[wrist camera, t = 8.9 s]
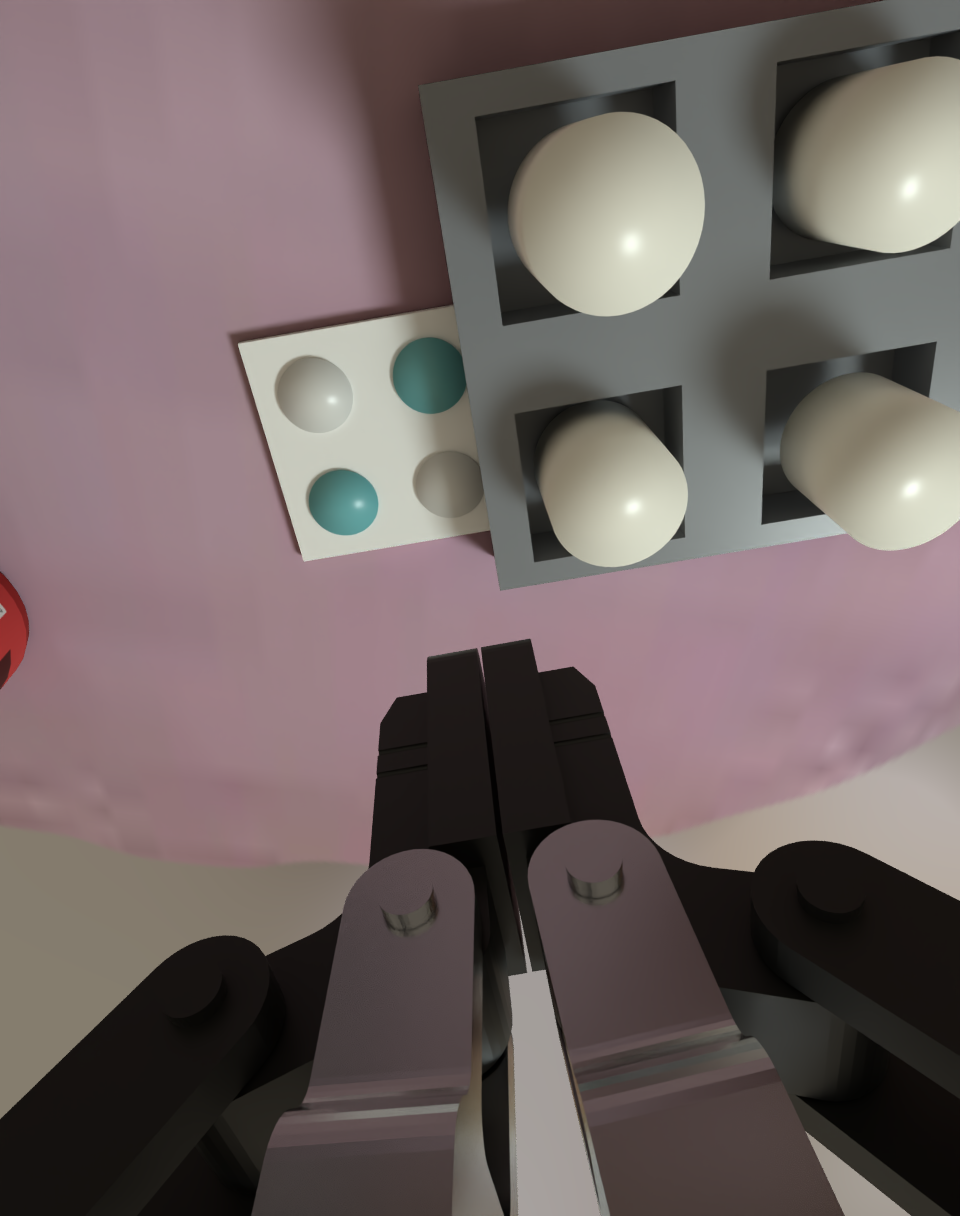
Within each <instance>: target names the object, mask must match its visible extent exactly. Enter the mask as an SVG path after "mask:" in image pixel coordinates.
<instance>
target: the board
mask: <svg viewBox="0 0 960 1216" xmlns="http://www.w3.org/2000/svg"><path fill="white" fill-rule="evenodd" d="M935 56H941V57H951V58H955V59H959V60H960V0H884V1H879V2H873V3H868V4H862V5H857V6H851V7H846V8H840V9H835V10H829V11H824V12H818V13H813V14H807V15H802V16H796V17H791V18H786V19H780V20H775V21H769V22H764V23H758V24H753V25H747V26H742V27H736V28H731V29H725V30H720V31H714V32H709V33H703V34H698V35H692V36H687V37H681V38H676V39H670V40H665V41H660V42H654V43H649V44H643V45H638V46H632V47H627V48H621V49H616V50H610V51H605V52H599V53H594V54H588V55H583V56H577V57H572V58H566V59H561V60H555V61H550V62H544V63H539V64H534V65H528V66H523V67H517V68H512V69H506V70H501V71H495V72H490V73H484V74H479V75H473V76H468V77H462V78H457V79H451V80H446V81H440V82H435V83H429V84H424V85H418V87H419V96H420V102H421V108H422V114H423V120H424V127H425V133H426V139H427V145H428V151H429V157H430V164H431V170H432V176H433V182H434V188H435V194H436V201H437V207H438V213H439V219H440V225H441V231H442V238H443V244H444V250H445V256H446V262H447V268H448V274H449V281H450V287H451V293H452V299H453V305H454V311H455V317H456V323H457V330H458V336H459V342H460V348H461V354H462V360H463V366H464V373H465V379H466V385H467V391H468V397H469V403H470V410H471V416H472V422H473V428H474V434H475V440H476V447H477V453H478V459H479V465H480V471H481V477H482V483H483V490H484V496H485V502H486V508H487V514H488V521H489V527H490V533H491V539H492V545H493V552H494V558H495V564H496V569H497V575H498V581H499V587H500V591H501V590H507V589H513V588H519V587H525V586H531V585H537V584H544V583H550V582H556V581H562V580H568V579H574V578H580V577H586V576H592V575H598V574H604V573H610V572H616V571H622V570H628V569H634V568H640V567H646V566H652V565H659V564H665V563H671V562H677V561H683V560H689V559H695V558H701V557H707V556H713V555H719V554H725V553H731V552H737V551H743V550H749V549H755V548H761V547H767V546H773V545H780V544H786V543H792V542H798V541H804V540H810V539H816V538H822V537H828V536H834V535H840V534H846V533H847V532H846V531H845V530H843V529H842V528H841V527H840V526H839V525H838V524H836V523H835V522H834V521H833V520H832V519H831V518H830V517H828V516H827V515H826V514H825V513H824V512H823V511H822V510H820V509H819V508H818V507H817V506H816V505H815V504H814V503H812V502H811V501H810V500H809V499H808V498H807V497H806V496H804V495H803V494H802V493H801V492H800V491H799V490H797V489H796V488H795V487H794V486H793V485H792V484H791V483H790V481H789V480H788V479H787V477H786V475H785V473H784V471H783V468H782V465H781V460H780V443H781V438H782V434H783V431H784V428H785V425H786V423H787V421H788V419H789V417H790V415H791V414H792V412H793V411H794V409H795V408H796V407H797V405H798V404H799V403H800V402H801V401H802V400H803V399H804V398H805V397H806V396H807V395H808V394H809V393H810V392H811V391H813V390H814V389H815V388H816V387H818V386H820V385H821V384H823V383H824V382H826V381H828V380H830V379H832V378H835V377H838V376H841V375H845V374H849V373H857V372H865V373H872V374H877V375H880V376H883V377H885V378H887V379H889V380H891V381H893V382H896V383H898V384H900V385H902V386H904V387H906V388H909V389H911V390H913V391H915V392H917V393H920V394H922V395H924V396H926V397H928V398H930V399H933V400H935V401H937V402H939V403H941V404H943V405H946V406H948V407H950V408H952V409H954V410H956V411H959V412H960V221H959V222H958V223H957V224H956V225H955V226H953V227H952V228H951V229H950V230H949V231H947V232H946V233H945V234H943V235H942V236H940V237H939V238H937V239H936V240H934V241H932V242H930V243H928V244H926V245H924V246H922V247H919V248H917V249H914V250H910V251H906V252H899V253H882V252H877V251H871V250H866V249H861V248H856V247H850V246H845V245H840V244H834V243H829V242H824V241H818V240H813V239H808V238H805V237H803V236H800V235H798V234H796V233H795V232H793V231H791V230H790V229H789V228H788V227H787V226H785V224H784V223H783V222H782V221H781V220H780V218H779V217H778V215H777V214H776V212H775V210H774V208H773V205H772V194H773V165H774V139H775V137H776V135H777V132H778V130H779V128H780V126H781V125H782V123H783V121H784V119H785V118H786V116H787V115H788V114H789V112H790V111H791V110H792V108H793V107H794V106H795V105H796V104H797V103H798V101H800V100H801V99H802V98H803V97H804V96H805V95H806V94H807V93H808V92H810V91H811V90H812V89H814V88H815V87H817V86H818V85H820V84H822V83H824V82H826V81H828V80H830V79H833V78H836V77H840V76H843V75H848V74H852V73H857V72H861V71H866V70H871V69H875V68H880V67H884V66H889V65H893V64H898V63H903V62H907V61H912V60H916V59H921V58H925V57H935ZM613 112H634V113H638V114H643V115H646V116H649V117H651V118H654V119H656V120H658V121H660V122H662V123H663V124H665V125H667V126H668V127H669V128H670V129H672V130H673V131H674V132H675V133H676V134H677V135H678V136H679V137H680V138H681V139H682V140H683V141H684V142H685V144H686V145H687V147H688V148H689V150H690V151H691V153H692V155H693V157H694V159H695V161H696V163H697V165H698V168H699V171H700V174H701V177H702V183H703V188H704V198H705V212H704V222H703V228H702V232H701V236H700V239H699V243H698V246H697V248H696V251H695V253H694V255H693V257H692V259H691V261H690V263H689V265H688V267H687V268H686V270H685V271H684V272H683V274H682V275H681V277H680V278H679V279H678V280H677V282H676V283H675V284H674V285H673V286H672V287H671V288H670V289H669V290H668V291H667V292H666V293H665V294H664V295H662V296H661V297H660V298H658V299H657V300H655V301H654V302H653V303H651V304H649V305H647V306H645V307H643V308H641V309H639V310H636V311H634V312H631V313H627V314H623V315H618V316H595V315H589V314H585V313H582V312H579V311H576V310H574V309H572V308H570V307H568V306H566V305H565V304H563V303H562V302H560V301H559V300H558V299H556V298H555V297H554V296H553V295H552V294H551V293H550V292H549V291H548V290H547V289H546V288H545V287H544V286H543V285H542V284H541V283H540V282H539V281H538V280H537V279H536V278H535V277H534V276H533V275H532V274H531V273H530V272H529V270H528V269H527V268H526V267H525V266H524V264H523V263H522V261H521V260H520V258H519V256H518V255H517V253H516V250H515V248H514V246H513V243H512V240H511V236H510V232H509V226H508V200H509V194H510V189H511V186H512V183H513V179H514V177H515V175H516V172H517V170H518V168H519V166H520V164H521V163H522V161H523V159H524V158H525V157H526V155H527V154H528V153H529V151H530V150H531V149H532V148H533V147H534V146H535V145H536V144H537V143H538V142H539V141H540V140H541V139H542V138H544V137H545V136H546V135H547V134H549V133H551V132H552V131H554V130H556V129H558V128H560V127H563V126H565V125H568V124H571V123H575V122H578V121H581V120H585V119H588V118H591V117H595V116H598V115H602V114H606V113H613ZM594 400H606V401H612V402H616V403H619V404H622V405H624V406H626V407H628V408H629V409H631V410H632V411H634V412H635V413H636V414H637V415H638V416H639V417H640V418H641V419H642V420H643V421H644V422H645V424H646V425H647V426H648V427H649V428H650V430H651V431H652V432H653V433H654V434H655V435H656V437H657V438H658V439H659V440H660V441H661V442H662V444H663V445H664V446H665V447H666V448H667V449H668V451H669V452H670V453H671V454H672V455H673V457H674V458H675V459H676V460H677V461H678V463H679V465H680V466H681V468H682V470H683V472H684V475H685V478H686V482H687V488H688V502H687V508H686V512H685V515H684V518H683V520H682V522H681V524H680V527H679V528H678V530H677V531H676V533H675V534H674V536H673V537H672V538H671V539H670V541H669V542H668V543H667V544H666V545H665V546H664V547H662V548H661V549H660V550H659V551H657V552H656V553H655V554H653V555H651V556H650V557H648V558H646V559H644V560H642V561H639V562H637V563H634V564H630V565H626V566H620V567H602V566H596V565H592V564H589V563H586V562H584V561H582V560H580V559H578V558H576V557H575V556H573V555H572V554H571V553H569V552H568V551H567V550H566V549H565V548H564V547H563V546H562V544H561V543H560V541H559V540H558V538H557V536H556V535H555V533H554V530H553V527H552V524H551V521H550V518H549V516H548V513H547V510H546V507H545V504H544V501H543V498H542V495H541V493H540V490H539V487H538V484H537V481H536V478H535V473H534V454H535V450H536V446H537V443H538V441H539V439H540V437H541V435H542V433H543V431H544V430H545V428H546V427H547V426H548V425H549V423H550V422H551V421H552V420H553V419H554V418H555V417H556V416H558V415H559V414H560V413H562V412H563V411H564V410H566V409H568V408H570V407H572V406H574V405H577V404H579V403H583V402H587V401H594Z"/></svg>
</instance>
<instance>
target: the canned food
mask: <svg viewBox="0 0 960 1216" xmlns="http://www.w3.org/2000/svg"><path fill="white" fill-rule="evenodd" d="M28 636H29V620H28V617H27V613H26V609H25V606H24V604H23V602H22V600H21V598H20V596H19V594H18V592H17V591H16V590H15V588H14V587H13V586H12V585H11V583H10V582H9V581H8V579H7V578H6V577H5V576H4V575H3V574H2V573H1V572H0V689H1V688H2V687H3V686H4V684H5V683H6V682H7V681H8V679H9V678H10V677H11V676H12V674H13V673H14V672H15V671H16V669H17V668H18V666H19V664H20V663H21V661H22V659H23V657H24V653H25V649H26V645H27V641H28Z"/></svg>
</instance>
